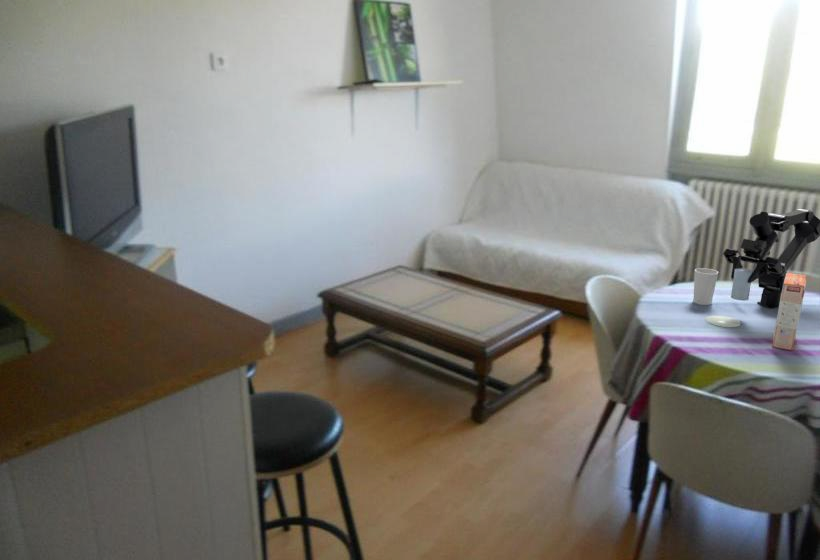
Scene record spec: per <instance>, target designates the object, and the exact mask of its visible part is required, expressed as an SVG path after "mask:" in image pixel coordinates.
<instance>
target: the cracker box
mask: <svg viewBox="0 0 820 560" xmlns="http://www.w3.org/2000/svg"><path fill="white" fill-rule="evenodd" d="M806 285H807V275H805V274H799V273H790V272H787V273H786V277H785V280H784V284H783V289H782V294H781V299H780V304H779V307H778V310H777V317H776V321H775V326H774V327H775V328H774V333H773V338H772V339H773V340H772V348H777V349H781V350H785V351H791V352H792V351H793V349H794V344H795V341H796V336H797V331H798V328H799V323H800V322H799V321H800V317H801V312H802V307H803V302H804V297H805V293H806V292H805V291H806Z"/></svg>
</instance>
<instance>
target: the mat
mask: <svg viewBox="0 0 820 560" xmlns="http://www.w3.org/2000/svg"><path fill="white" fill-rule="evenodd" d="M704 320H705V322H706V323H708V324H710V325H713V326H717V327H723V328H736V327H740V326H741V322H740V321H739V320H738V319H735V318H733V317H729V316H724V315H708V316H706V317H705V319H704Z"/></svg>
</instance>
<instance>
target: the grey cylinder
mask: <svg viewBox="0 0 820 560" xmlns="http://www.w3.org/2000/svg"><path fill="white" fill-rule="evenodd" d="M753 271H754V270H753V269H751V268H747V267H743V268H736V269H735V272H734V279H732V285H731V292H730V293H731V295H730V298H731V299H733V300H736V301H748V300H749V298H750V291H751V284H752V282H751V283H748V279H749V277H750V276H751V274H752V273H753Z"/></svg>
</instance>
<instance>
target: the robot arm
mask: <svg viewBox="0 0 820 560" xmlns="http://www.w3.org/2000/svg"><path fill="white" fill-rule="evenodd" d="M748 221H749V225H750V226H751V229H752V232H753V233H754V235H755V236H756V237H755V239H754V240H752V239H748V238H743V239H742V241H741V244H740V246H739V248H740V249H742V250H743V254H744V255H743V254H741V253H740V252H739V250H738V249H733V248H726V249H725V250H723V253H722V255H723V257H724V258H725V260H726V262H727V263H729V264H732V270H731V275H730V278H731V280H733V279H734V272H735V269H736V268H744V267H743V262H746V263H749V264H754V265H756V266H755V268H754V269H753V270H752V271H753V273H752V274H751V276H750V277H749V279H748V283H751V284H752V283H753V282H754V281H755V280H757V279H758V280H757V281H758V288H760V289H762V292H761V296H760V301H757V302H756V303H757V304H759V305H761V306H764V307H766V308H769V309H777V308H778V309H779V304H780V299H781V294H782V289H783V284H784V280H785V277H786V273H788V271H789V269H790V268H791V267H792V265H793V264H794V262H795V261H796V260H797V258H799V256H800V254H801V253H802V252H803V250H804V249H805V248H806V247H807V245H808V244H810V243H812V242H813V243H814V242H816V241H817V240H818V239H819V237H820V218H818V217H817V216H816V215H815V213H814V211H812V210H810V209H806V208H805V209H804V208H799V209H798V208H797V209H796V210H792V211H789V212H786V213H785V212H784V213H781V214H780V213H770V212H769V213H768V212H767V211H761V212H760V213H757V214H754V215H753V216H751V217H750V218H749V220H748ZM791 226H793V228H794V229H793V230H794V236H793V238H792V239H791V240H790V242H789V243H788V244H787V246H786V247H785V249H784V250H783V251H782V252H781V254H780V255H779V256H778V258H776V257H772V256H770V254H771V252H770V250H771V249H772V247H773V246H774V244H775V243H779V240H780V239H779V238H778V237H779V234H778V233H777V232H779V233H786V232H787V231H788V230H789V229H790V228H791Z"/></svg>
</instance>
